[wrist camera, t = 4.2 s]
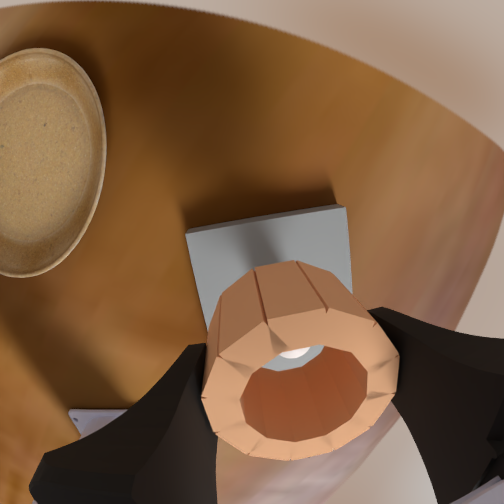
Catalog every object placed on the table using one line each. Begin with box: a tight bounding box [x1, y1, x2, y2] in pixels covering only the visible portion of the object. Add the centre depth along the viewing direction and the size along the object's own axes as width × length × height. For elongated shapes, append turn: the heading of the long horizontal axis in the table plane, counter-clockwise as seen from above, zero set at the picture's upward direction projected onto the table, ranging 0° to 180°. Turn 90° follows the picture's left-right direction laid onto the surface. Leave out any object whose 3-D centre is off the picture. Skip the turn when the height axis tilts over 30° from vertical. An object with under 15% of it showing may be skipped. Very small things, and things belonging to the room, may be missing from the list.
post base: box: [185, 204, 352, 371], centre depth 17 cm, size 10×9×6 cm
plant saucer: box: [0, 48, 107, 278], centre depth 16 cm, size 15×15×3 cm
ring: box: [201, 260, 400, 461], centre depth 10 cm, size 6×6×4 cm
